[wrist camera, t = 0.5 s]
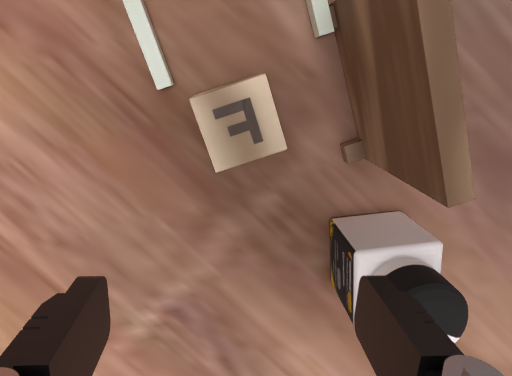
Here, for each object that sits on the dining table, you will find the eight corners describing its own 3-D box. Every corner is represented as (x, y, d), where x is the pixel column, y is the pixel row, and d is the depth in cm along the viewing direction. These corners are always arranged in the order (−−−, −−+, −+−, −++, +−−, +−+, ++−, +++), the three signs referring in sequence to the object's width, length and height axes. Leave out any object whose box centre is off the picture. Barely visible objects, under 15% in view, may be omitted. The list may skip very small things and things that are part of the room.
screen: (368, -9, 29) (479, -70, 16) (397, 145, 33) (503, 189, 20) (308, 11, 29) (374, -35, 16) (344, 163, 33) (419, 217, 20)
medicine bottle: (328, 217, 34) (382, 289, 23) (401, 209, 35) (489, 275, 23) (330, 282, 37) (379, 377, 25) (398, 274, 37) (477, 363, 26)
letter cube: (257, 73, 30) (265, 73, 25) (276, 136, 32) (287, 149, 26) (194, 94, 30) (189, 99, 25) (216, 156, 32) (215, 173, 26)
